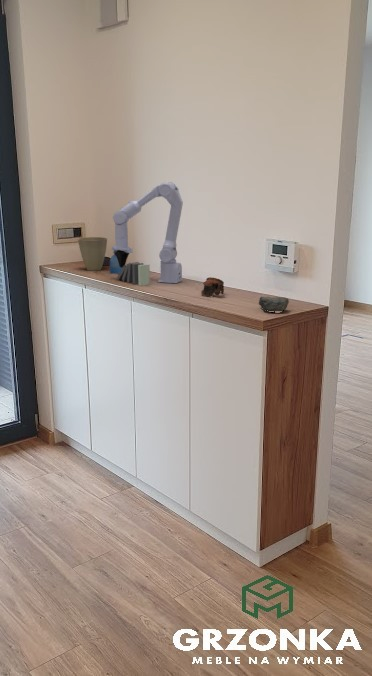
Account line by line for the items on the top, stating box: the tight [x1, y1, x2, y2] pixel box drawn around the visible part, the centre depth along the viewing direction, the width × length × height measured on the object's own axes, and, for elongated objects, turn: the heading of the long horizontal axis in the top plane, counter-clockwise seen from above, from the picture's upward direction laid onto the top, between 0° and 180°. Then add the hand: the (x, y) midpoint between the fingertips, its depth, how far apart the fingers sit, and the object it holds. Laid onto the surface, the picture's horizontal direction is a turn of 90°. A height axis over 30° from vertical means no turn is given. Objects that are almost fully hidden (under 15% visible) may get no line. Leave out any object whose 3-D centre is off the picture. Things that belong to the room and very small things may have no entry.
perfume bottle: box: [109, 250, 123, 275], centre depth 294 cm, size 6×6×12 cm
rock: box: [258, 296, 290, 312], centre depth 213 cm, size 12×10×5 cm
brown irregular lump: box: [200, 276, 225, 297], centre depth 240 cm, size 12×10×8 cm
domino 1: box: [116, 264, 127, 281], centre depth 272 cm, size 2×5×9 cm
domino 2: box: [121, 263, 129, 282], centre depth 270 cm, size 2×5×9 cm, turn 128°
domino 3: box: [126, 261, 140, 284], centre depth 267 cm, size 2×5×9 cm, turn 129°
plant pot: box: [77, 236, 108, 271], centre depth 303 cm, size 15×15×16 cm
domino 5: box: [138, 263, 151, 287], centre depth 261 cm, size 2×5×9 cm, turn 129°
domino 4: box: [132, 262, 145, 285], centre depth 265 cm, size 2×5×9 cm, turn 129°
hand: (122, 267), depth 274 cm, fingers closed
